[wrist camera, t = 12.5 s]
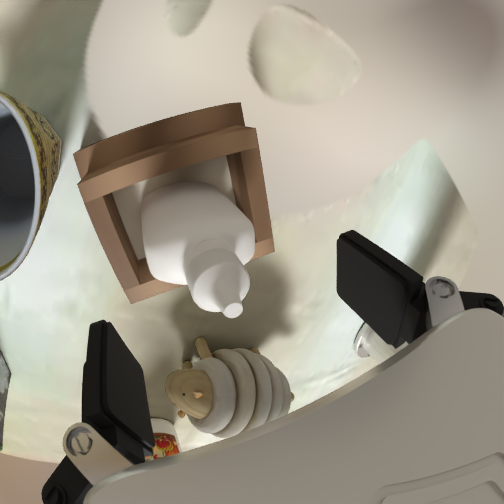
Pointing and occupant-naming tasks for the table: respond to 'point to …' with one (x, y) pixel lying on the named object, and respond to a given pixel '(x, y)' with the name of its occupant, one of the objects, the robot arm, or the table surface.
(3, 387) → the chalk box
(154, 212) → the eye dropper bottle
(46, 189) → the ceramic cup
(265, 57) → the table surface
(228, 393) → the toy sheep
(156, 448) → the milk bottle
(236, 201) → the walnut socket block
